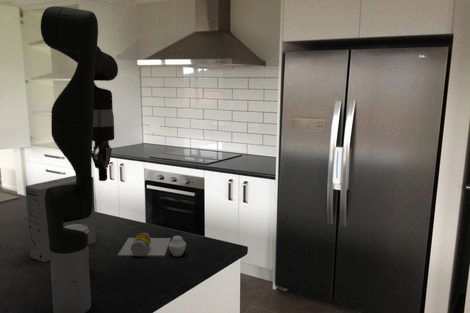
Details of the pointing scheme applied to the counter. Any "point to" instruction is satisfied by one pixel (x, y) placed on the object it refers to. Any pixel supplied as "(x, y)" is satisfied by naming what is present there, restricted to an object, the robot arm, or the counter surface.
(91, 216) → the cereal box
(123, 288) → the counter surface
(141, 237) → the supplement bottle
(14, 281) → the counter surface
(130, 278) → the counter surface
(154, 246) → the topple mat
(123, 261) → the counter surface
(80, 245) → the robot arm
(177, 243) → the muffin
